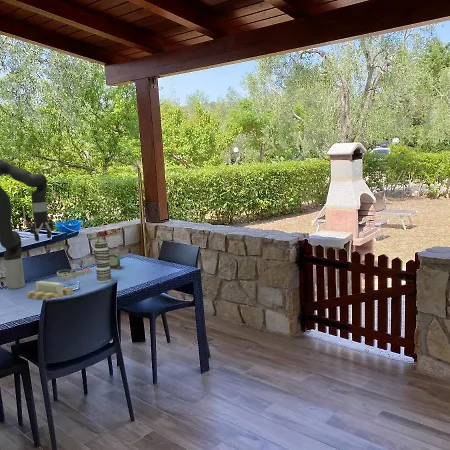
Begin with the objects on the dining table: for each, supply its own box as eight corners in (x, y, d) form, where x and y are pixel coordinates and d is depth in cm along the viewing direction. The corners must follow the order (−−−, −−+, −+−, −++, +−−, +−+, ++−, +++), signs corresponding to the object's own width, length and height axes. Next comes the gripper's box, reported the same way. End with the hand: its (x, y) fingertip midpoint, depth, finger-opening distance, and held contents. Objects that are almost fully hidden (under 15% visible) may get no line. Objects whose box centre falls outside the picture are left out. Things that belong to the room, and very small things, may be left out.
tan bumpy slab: (27, 298, 246) (27, 292, 246) (46, 290, 258) (45, 285, 257) (55, 301, 238) (55, 295, 237) (73, 293, 250) (72, 288, 249)
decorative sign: (63, 278, 276) (46, 273, 288) (63, 282, 276) (46, 277, 289) (94, 269, 292) (76, 266, 305) (94, 273, 293) (77, 269, 305)
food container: (126, 267, 302) (124, 253, 300) (119, 270, 297) (117, 255, 295) (112, 266, 308) (111, 251, 307) (106, 268, 303) (104, 253, 302)
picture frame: (36, 294, 249) (35, 282, 248) (42, 292, 253) (40, 280, 252) (58, 297, 243) (57, 284, 242) (64, 295, 246) (62, 282, 245)
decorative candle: (95, 283, 268) (91, 242, 264) (97, 279, 277) (93, 239, 273) (111, 281, 270) (107, 240, 266) (112, 277, 279) (109, 237, 275)
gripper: (34, 212, 241) (38, 242, 243) (54, 208, 253) (58, 237, 256) (24, 212, 244) (28, 241, 246) (44, 208, 257) (48, 236, 259)
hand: (43, 239), depth 251 cm, fingers open, 8 cm apart
